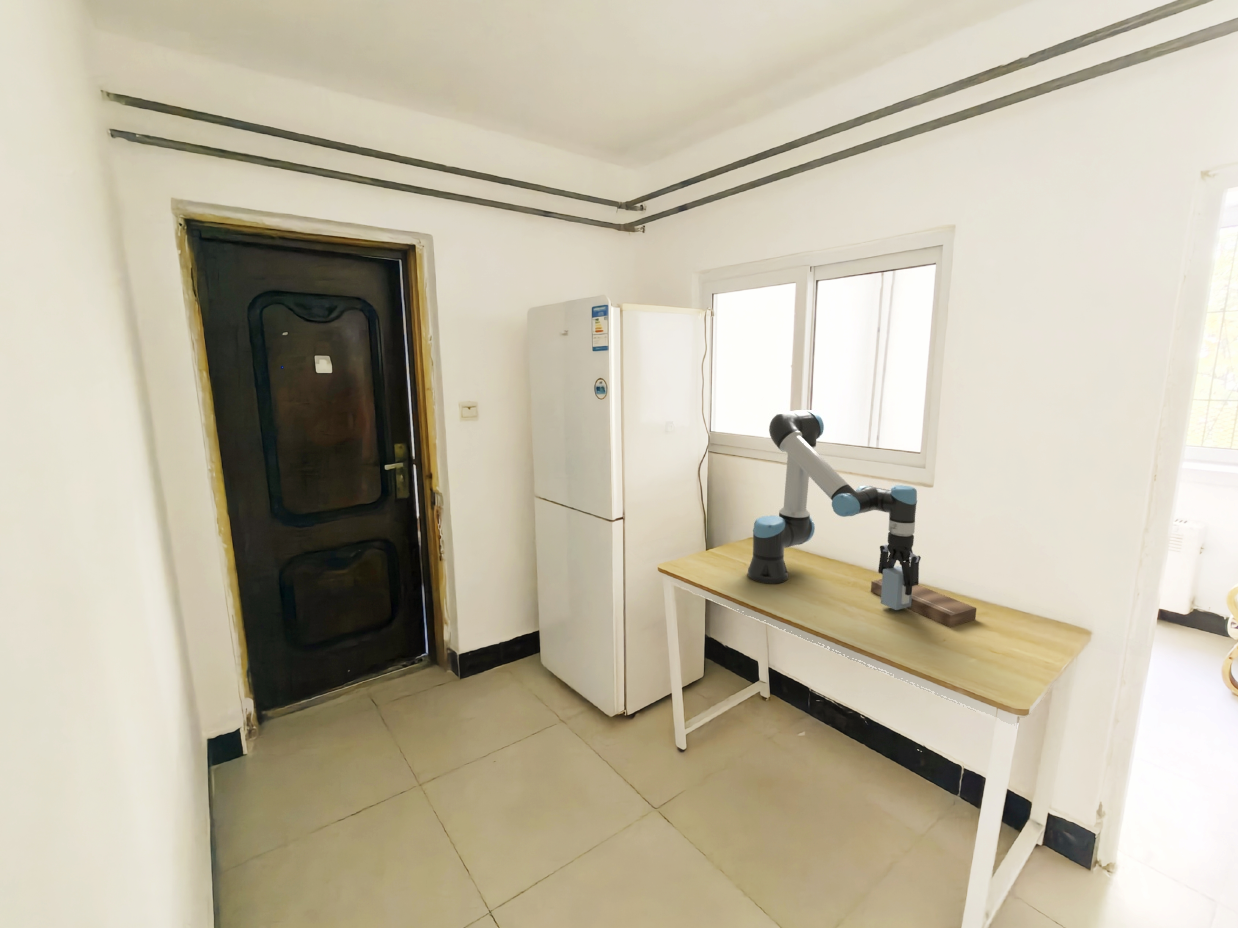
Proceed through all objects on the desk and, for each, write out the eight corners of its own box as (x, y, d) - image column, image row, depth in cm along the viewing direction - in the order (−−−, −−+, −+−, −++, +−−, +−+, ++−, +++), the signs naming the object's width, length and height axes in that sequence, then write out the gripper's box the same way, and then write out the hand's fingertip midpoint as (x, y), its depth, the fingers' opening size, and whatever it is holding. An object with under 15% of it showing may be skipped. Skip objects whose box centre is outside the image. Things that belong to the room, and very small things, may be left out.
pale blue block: (880, 603, 180) (882, 569, 177) (903, 597, 184) (906, 564, 182) (896, 610, 174) (898, 575, 172) (919, 603, 178) (922, 569, 176)
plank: (870, 591, 193) (871, 580, 192) (894, 585, 197) (895, 575, 197) (950, 627, 166) (951, 614, 165) (975, 619, 170) (976, 607, 170)
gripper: (868, 527, 181) (864, 590, 185) (919, 542, 164) (913, 612, 168) (884, 524, 184) (880, 587, 188) (936, 539, 167) (930, 608, 171)
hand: (896, 599), depth 178 cm, fingers closed on pale blue block, 6 cm apart
